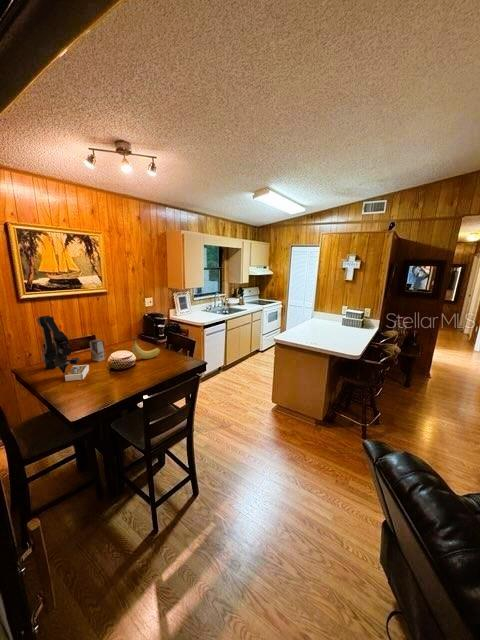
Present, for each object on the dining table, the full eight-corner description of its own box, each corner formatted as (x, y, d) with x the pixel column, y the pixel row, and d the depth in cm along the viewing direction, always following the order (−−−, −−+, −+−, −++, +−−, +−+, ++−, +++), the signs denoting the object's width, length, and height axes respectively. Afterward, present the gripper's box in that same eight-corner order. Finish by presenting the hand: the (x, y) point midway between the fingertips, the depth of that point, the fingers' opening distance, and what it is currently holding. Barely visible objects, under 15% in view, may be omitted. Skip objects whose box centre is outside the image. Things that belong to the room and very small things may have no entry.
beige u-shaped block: (65, 381, 179) (64, 375, 178) (73, 371, 195) (72, 365, 194) (83, 379, 182) (82, 374, 181) (89, 369, 198) (88, 364, 197)
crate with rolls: (68, 379, 182) (67, 372, 181) (73, 372, 193) (72, 365, 192) (79, 378, 184) (78, 371, 183) (83, 371, 195) (83, 365, 194)
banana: (158, 354, 232) (157, 332, 227) (161, 356, 227) (160, 334, 223) (132, 360, 218) (130, 336, 214) (134, 362, 214) (132, 338, 209)
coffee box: (105, 359, 219) (103, 340, 215) (98, 361, 213) (96, 342, 209) (98, 357, 222) (96, 338, 219) (91, 359, 217) (89, 340, 213)
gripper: (40, 357, 172) (44, 379, 176) (73, 355, 178) (76, 376, 181) (47, 351, 182) (50, 372, 186) (78, 349, 188) (80, 370, 192)
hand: (64, 373), depth 186 cm, fingers closed
